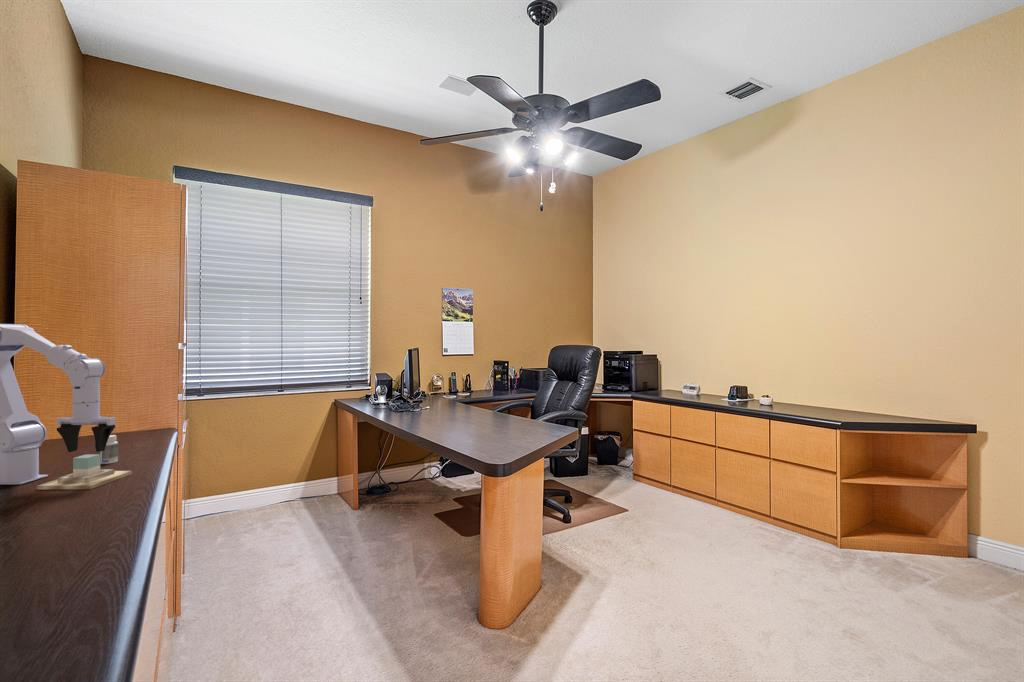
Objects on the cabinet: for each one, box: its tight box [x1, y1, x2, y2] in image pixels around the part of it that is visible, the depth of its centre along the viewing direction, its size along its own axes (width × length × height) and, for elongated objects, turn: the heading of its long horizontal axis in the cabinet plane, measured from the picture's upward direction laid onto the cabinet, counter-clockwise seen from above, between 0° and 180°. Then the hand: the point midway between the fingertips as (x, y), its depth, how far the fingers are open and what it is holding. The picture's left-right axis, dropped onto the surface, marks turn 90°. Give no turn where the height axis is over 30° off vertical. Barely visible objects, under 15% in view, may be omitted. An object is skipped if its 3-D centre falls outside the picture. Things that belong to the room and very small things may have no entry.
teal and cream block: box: [72, 453, 101, 477], centre depth 134 cm, size 4×4×6 cm
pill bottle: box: [98, 434, 119, 465], centre depth 155 cm, size 5×5×8 cm
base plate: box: [36, 468, 133, 491], centre depth 134 cm, size 14×14×2 cm
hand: (86, 451), depth 134 cm, fingers open, 7 cm apart
